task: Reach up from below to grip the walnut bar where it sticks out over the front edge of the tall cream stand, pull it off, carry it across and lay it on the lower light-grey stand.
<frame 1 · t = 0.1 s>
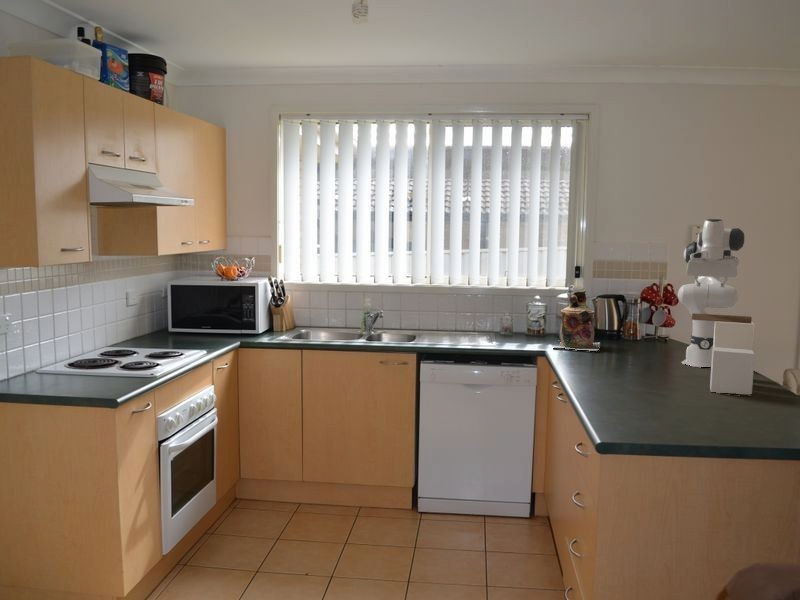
hand: (710, 287, 285), 39 cm above the countertop, tool pointing down, fingers open, 8 cm apart
bar: (720, 321, 269), point 26 cm above the countertop, touching tall stand
cookie jar: (576, 348, 355), on the countertop
low stand: (730, 391, 255), on the countertop
tall stand: (730, 384, 269), on the countertop
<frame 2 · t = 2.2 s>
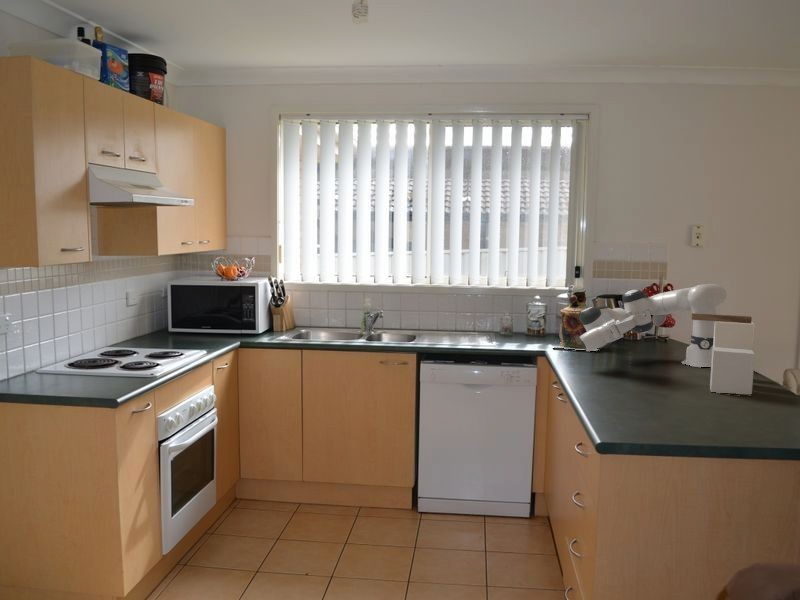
hand: (645, 315, 280), 26 cm above the countertop, tool pointing upward, fingers open, 8 cm apart
nothing on the countertop moved.
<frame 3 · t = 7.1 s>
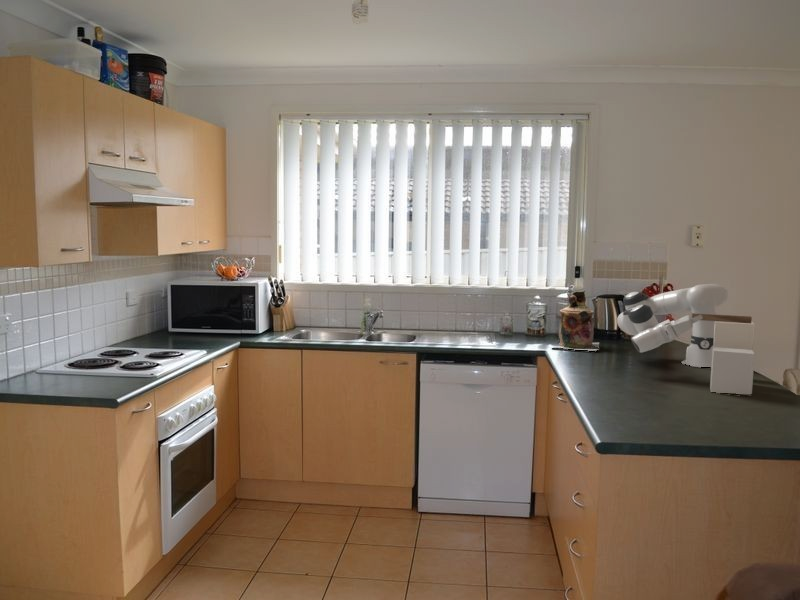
hand: (701, 315, 272), 28 cm above the countertop, tool pointing upward, fingers closed on bar, 3 cm apart
bar: (720, 321, 269), point 26 cm above the countertop, touching gripper
everything else where it was.
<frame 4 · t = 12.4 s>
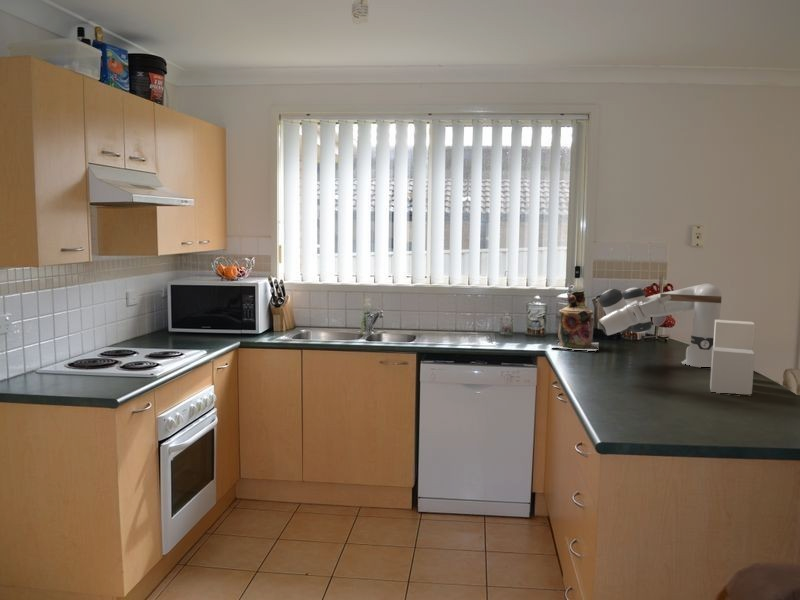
hand: (670, 296, 260), 37 cm above the countertop, tool pointing upward, fingers closed on bar, 3 cm apart
bar: (690, 301, 258), point 35 cm above the countertop, touching gripper
everything else where it was.
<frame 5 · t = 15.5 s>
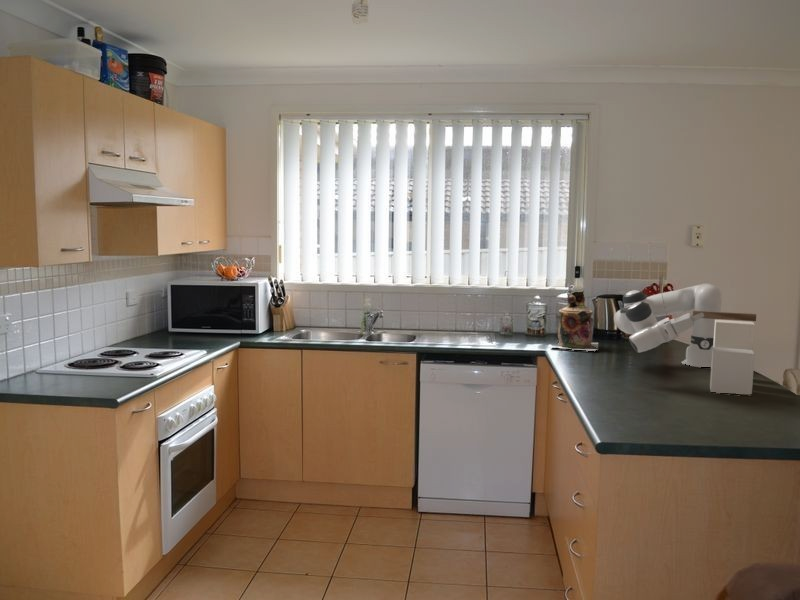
hand: (703, 313, 256), 30 cm above the countertop, tool pointing upward, fingers closed on bar, 3 cm apart
bar: (723, 319, 253), point 29 cm above the countertop, touching gripper
when the fingers open (20 cm above the countertop, at t = 18.1 s): bar drops 2 cm, resting on low stand.
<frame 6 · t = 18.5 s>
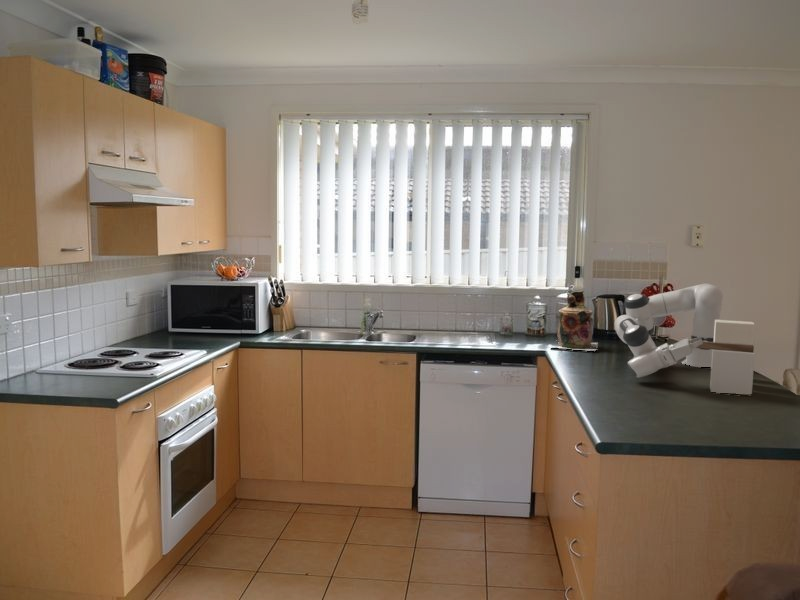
hand: (701, 339, 258), 20 cm above the countertop, tool pointing upward, fingers open, 7 cm apart
bar: (721, 349, 255), point 16 cm above the countertop, touching low stand
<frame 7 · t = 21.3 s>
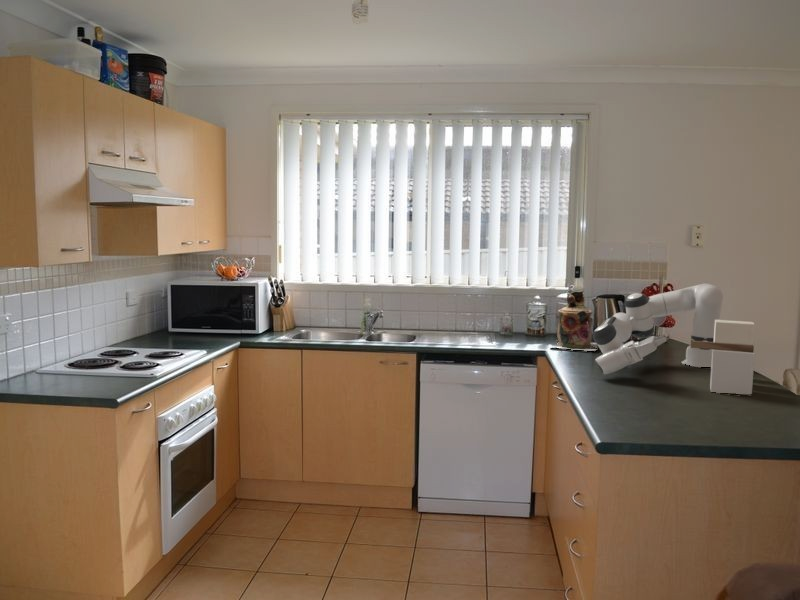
hand: (666, 337, 263), 20 cm above the countertop, tool pointing upward, fingers open, 8 cm apart
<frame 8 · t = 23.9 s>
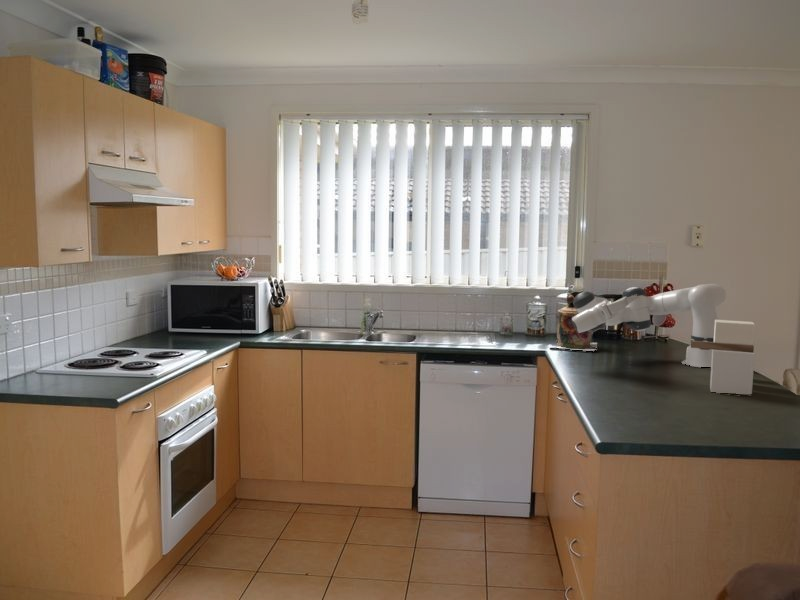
hand: (636, 296, 281), 34 cm above the countertop, tool pointing upward, fingers open, 8 cm apart
at the end: bar inside the target area (0.6 cm from its centre), point 16.5 cm above the countertop; bar tilted 0°; the gripper is holding nothing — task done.
